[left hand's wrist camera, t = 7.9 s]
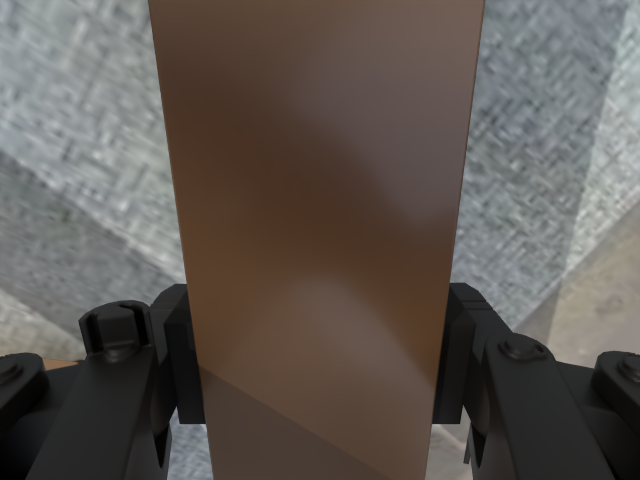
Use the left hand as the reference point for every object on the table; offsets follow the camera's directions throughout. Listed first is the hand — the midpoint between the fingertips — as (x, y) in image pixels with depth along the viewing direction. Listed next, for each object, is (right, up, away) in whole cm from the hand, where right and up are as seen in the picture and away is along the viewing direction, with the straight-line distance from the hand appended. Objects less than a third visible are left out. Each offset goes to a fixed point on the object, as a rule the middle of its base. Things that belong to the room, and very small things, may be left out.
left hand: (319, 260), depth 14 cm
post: (0, +32, -11) cm, 34 cm away
